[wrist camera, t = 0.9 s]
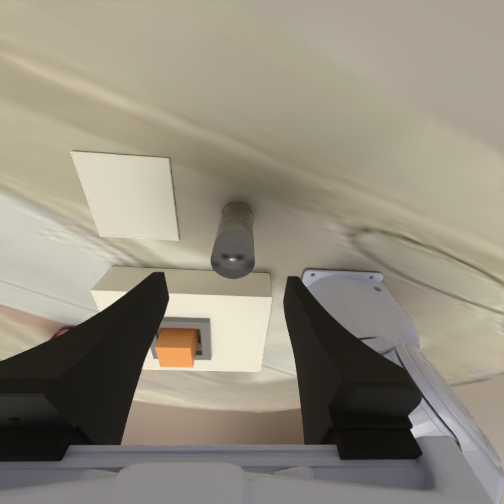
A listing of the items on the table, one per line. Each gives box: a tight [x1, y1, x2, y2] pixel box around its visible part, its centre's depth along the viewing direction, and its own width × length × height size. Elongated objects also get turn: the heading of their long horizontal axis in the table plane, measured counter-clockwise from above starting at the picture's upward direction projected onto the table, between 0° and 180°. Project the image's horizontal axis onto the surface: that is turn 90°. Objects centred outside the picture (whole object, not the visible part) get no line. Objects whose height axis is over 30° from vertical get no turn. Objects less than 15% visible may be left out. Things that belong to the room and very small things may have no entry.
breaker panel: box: [91, 266, 272, 372], centre depth 27 cm, size 18×14×5 cm
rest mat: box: [70, 151, 180, 241], centre depth 20 cm, size 8×8×1 cm
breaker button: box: [155, 328, 198, 367], centre depth 24 cm, size 4×4×3 cm
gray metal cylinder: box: [211, 202, 255, 279], centre depth 18 cm, size 3×3×8 cm
